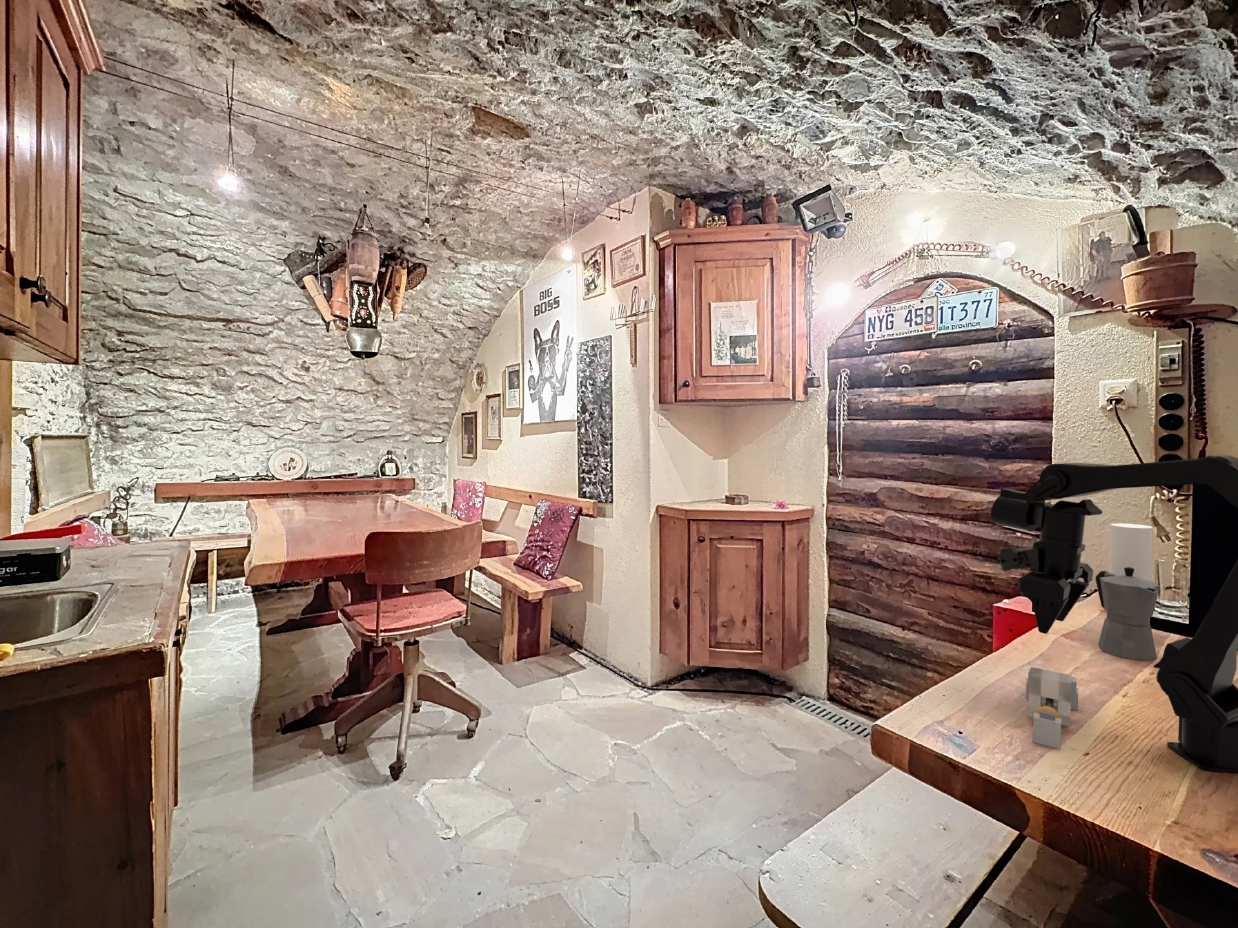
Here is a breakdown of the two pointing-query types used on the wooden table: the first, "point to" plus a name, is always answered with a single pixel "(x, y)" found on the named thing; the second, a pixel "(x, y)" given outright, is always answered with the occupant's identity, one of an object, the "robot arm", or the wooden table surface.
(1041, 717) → the cord rig
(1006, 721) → the wooden table surface
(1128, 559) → the cylindrical container
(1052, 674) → the sleeve
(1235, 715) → the robot arm
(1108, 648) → the coffeepot
